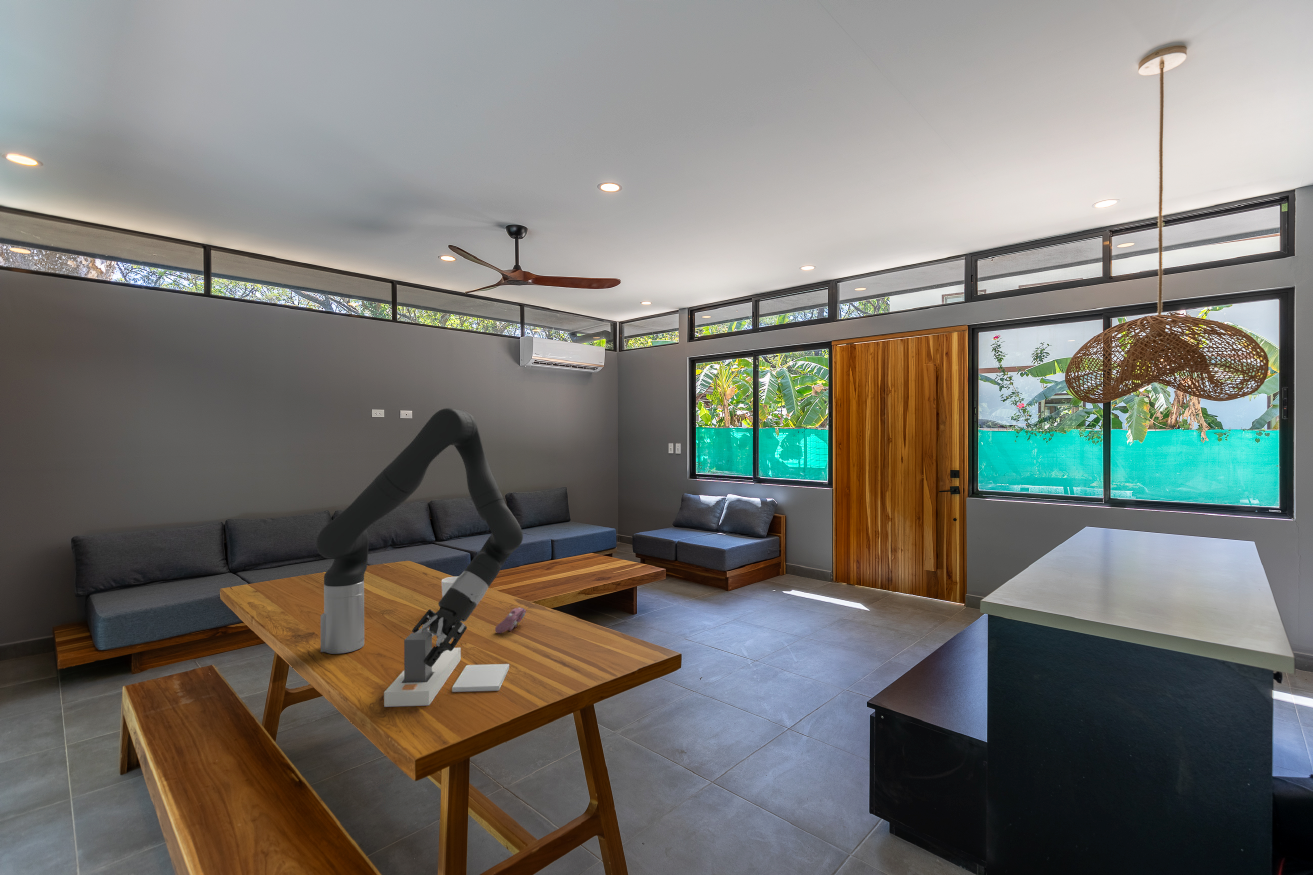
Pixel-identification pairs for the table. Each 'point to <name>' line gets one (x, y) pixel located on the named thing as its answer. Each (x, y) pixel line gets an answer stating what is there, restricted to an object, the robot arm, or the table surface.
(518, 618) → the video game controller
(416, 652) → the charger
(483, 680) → the mat
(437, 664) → the power strip
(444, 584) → the white cup
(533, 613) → the table surface
